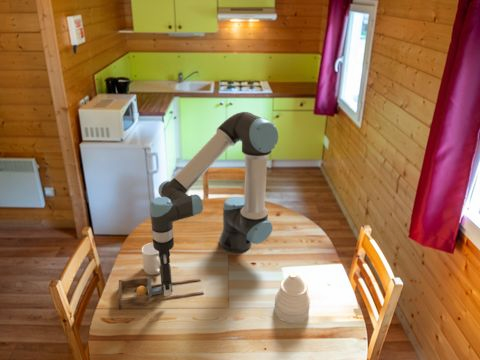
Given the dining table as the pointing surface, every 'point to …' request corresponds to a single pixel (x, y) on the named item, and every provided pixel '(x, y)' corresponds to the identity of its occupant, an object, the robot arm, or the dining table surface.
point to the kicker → (159, 289)
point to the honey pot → (292, 299)
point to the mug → (150, 259)
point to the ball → (141, 291)
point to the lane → (176, 295)
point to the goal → (132, 300)
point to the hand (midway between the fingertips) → (166, 283)
